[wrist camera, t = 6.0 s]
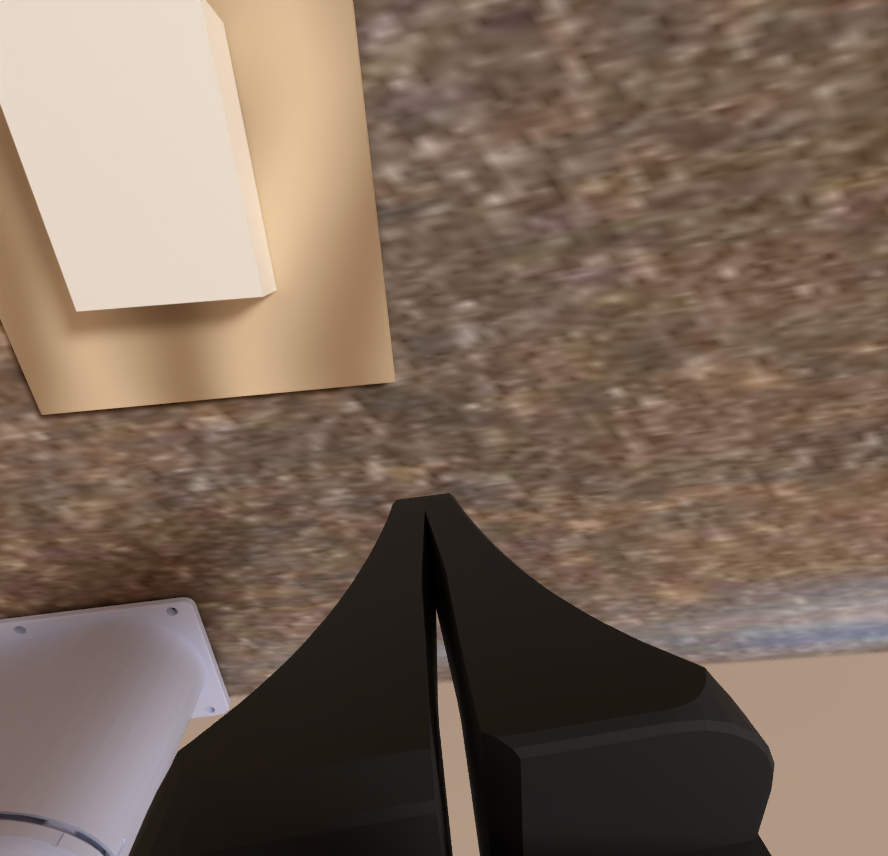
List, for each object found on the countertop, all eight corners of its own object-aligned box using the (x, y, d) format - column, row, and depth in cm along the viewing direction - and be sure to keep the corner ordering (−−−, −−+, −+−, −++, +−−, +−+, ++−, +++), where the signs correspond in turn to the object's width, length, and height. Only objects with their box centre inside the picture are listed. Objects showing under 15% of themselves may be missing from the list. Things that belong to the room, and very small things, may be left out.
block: (277, 290, 17) (111, 303, 17) (224, 23, 14) (20, 31, 14) (262, 296, 16) (76, 311, 15) (198, -9, 12) (-38, -1, 12)
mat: (52, 409, 19) (41, 415, 18) (-179, -137, 13) (-205, -154, 12) (394, 377, 20) (395, 381, 19) (337, -145, 14) (334, -161, 13)
